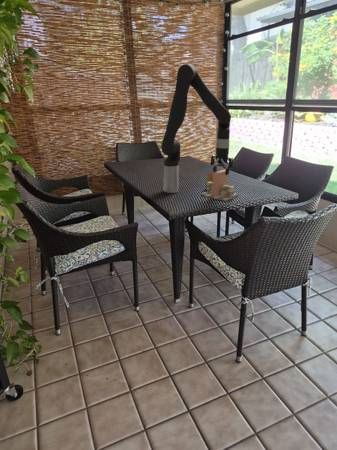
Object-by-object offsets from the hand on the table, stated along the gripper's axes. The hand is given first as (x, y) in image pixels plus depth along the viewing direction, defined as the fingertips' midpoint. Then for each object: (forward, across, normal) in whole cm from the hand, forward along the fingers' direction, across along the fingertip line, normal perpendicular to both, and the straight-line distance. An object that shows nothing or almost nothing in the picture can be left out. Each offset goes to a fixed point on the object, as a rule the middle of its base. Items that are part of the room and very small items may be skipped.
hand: (220, 173), depth 189 cm
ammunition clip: (+14, -12, +11) cm, 22 cm away
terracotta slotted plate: (+13, 0, 0) cm, 13 cm away
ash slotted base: (+14, 0, 0) cm, 14 cm away
